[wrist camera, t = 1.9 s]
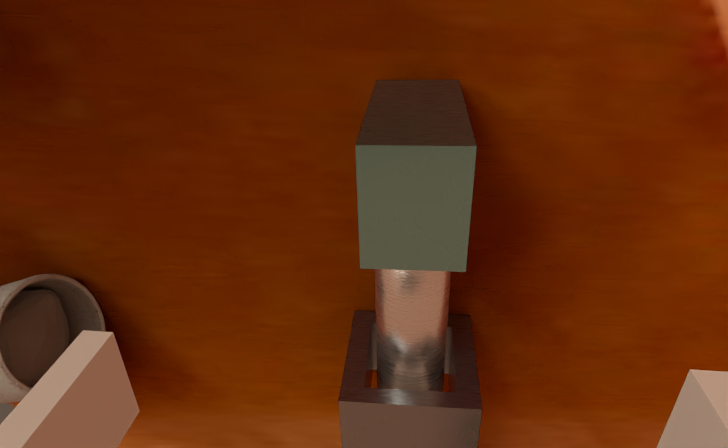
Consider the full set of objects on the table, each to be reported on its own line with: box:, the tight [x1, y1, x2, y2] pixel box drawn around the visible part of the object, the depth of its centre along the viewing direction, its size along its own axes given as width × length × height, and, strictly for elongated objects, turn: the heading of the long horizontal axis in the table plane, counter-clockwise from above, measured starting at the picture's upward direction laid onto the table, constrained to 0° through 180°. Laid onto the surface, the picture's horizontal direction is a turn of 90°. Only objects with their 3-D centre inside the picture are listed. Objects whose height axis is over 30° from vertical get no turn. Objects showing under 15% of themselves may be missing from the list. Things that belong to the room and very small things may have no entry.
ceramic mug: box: [0, 274, 106, 404], centre depth 33 cm, size 11×8×8 cm
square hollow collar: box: [339, 311, 482, 448], centre depth 30 cm, size 4×7×7 cm, turn 92°
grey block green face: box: [355, 80, 477, 392], centre depth 25 cm, size 20×4×9 cm, turn 2°
